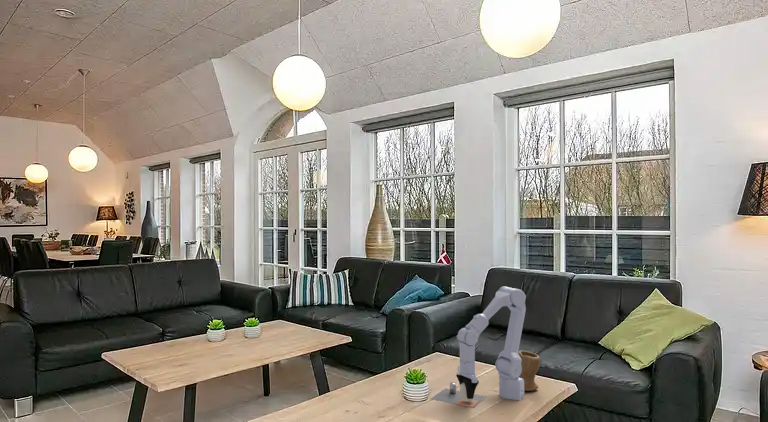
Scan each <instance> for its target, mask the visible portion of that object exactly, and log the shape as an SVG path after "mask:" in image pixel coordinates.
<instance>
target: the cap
mask: <svg viewBox="0 0 768 422" xmlns="http://www.w3.org/2000/svg"><path fill="white" fill-rule="evenodd" d="M459 391H460V399H461V400H462V401H467V402H468V401H473V400H474V397H473V399H468V398H467V394H466V387H465V384H464V383H461V385H460V384H459Z"/></svg>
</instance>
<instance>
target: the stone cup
mask: <svg viewBox="0 0 768 422" xmlns="http://www.w3.org/2000/svg"><path fill="white" fill-rule="evenodd" d="M518 355H519V356H520V358H521V360H522V361H521V366H522V372H521V374H520V376H519V378H522V379H524V392H525V391H530V392H531V391H536V390H538V389H539V385H538V384H537V383H536V382H535V378H536V375H537V372H538V370H539V368H540V365H541V358H540V356H539V355H538V354H536V353H535V352H531V351H528V350H523V349H522V350H521V349H520V350H518Z"/></svg>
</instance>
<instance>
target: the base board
mask: <svg viewBox="0 0 768 422" xmlns="http://www.w3.org/2000/svg"><path fill="white" fill-rule="evenodd" d="M486 398H487V395H481V394H475V393H474V400H477V401H479V403H477V404H476V405H475V406H474V407H473V408H472V409H474V408H476V407H477V406H478V405H479V404H480V403H482V402H483V401H484V399H486ZM430 400H434V401H437V402H438V401H439V402H443V403H447V404H453V405H456V406H458V405H457V404H455V403H456V402H457V401H459V400H460V390H456V394H450V388H444V389H442V390H440V391H439V392H438V393H437V394H435V395H434V396H433V397H431V398H430ZM460 406H462V405H460ZM462 407H463V406H462ZM465 407H467V406H465ZM467 408H468V407H467Z"/></svg>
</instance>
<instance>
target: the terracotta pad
mask: <svg viewBox="0 0 768 422" xmlns="http://www.w3.org/2000/svg"><path fill="white" fill-rule="evenodd" d="M477 403H479V401H477V400H473V401H468V402H467V401H462V400H461V399H460V400H459V401H457V402H456V403H455V404H454V405H456V404H457V405H456V406H461V405H462V407H466V406H467V408H471V409H474V408H473V407H474V406H475V405H476V404H477ZM479 404H480V403H479Z"/></svg>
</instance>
